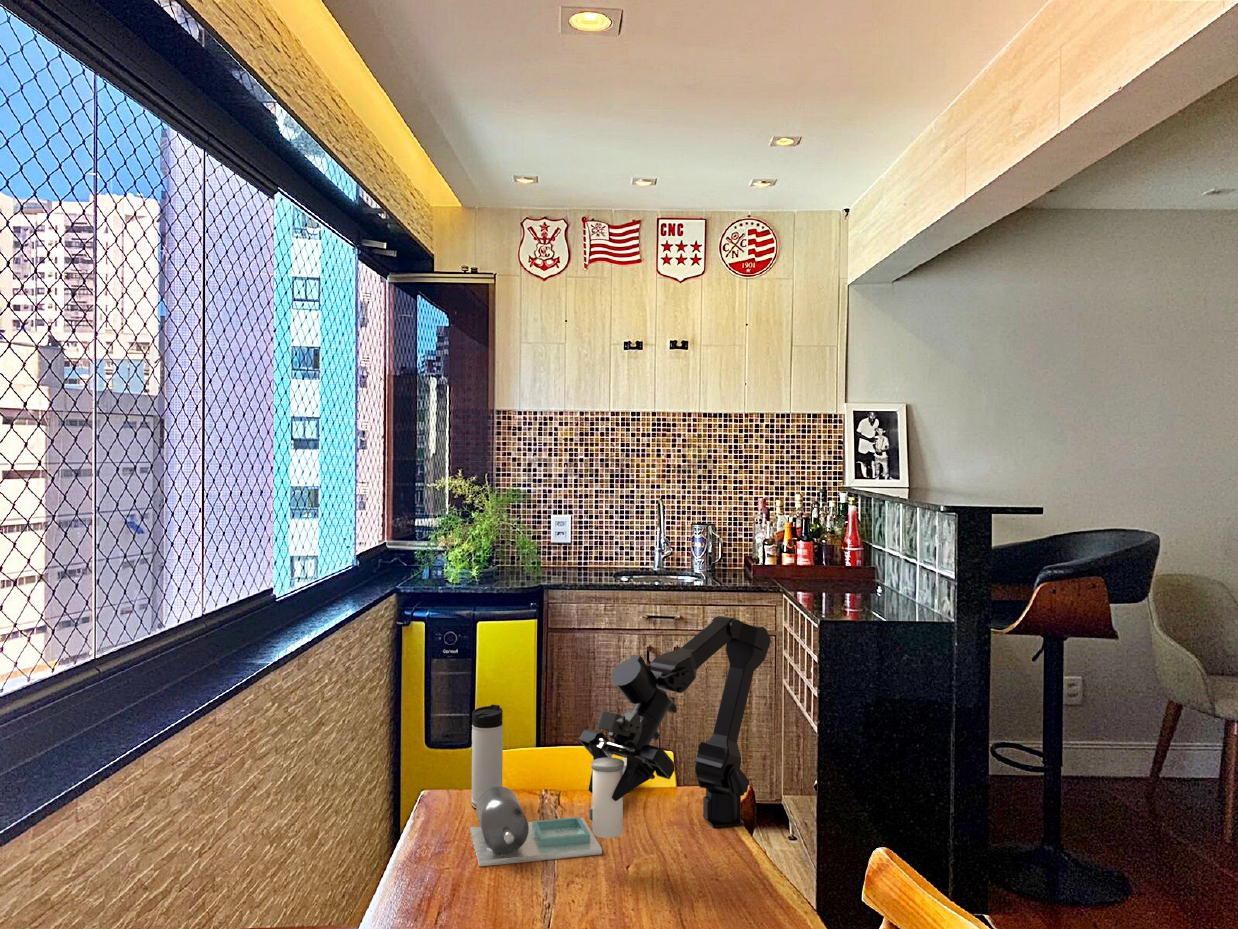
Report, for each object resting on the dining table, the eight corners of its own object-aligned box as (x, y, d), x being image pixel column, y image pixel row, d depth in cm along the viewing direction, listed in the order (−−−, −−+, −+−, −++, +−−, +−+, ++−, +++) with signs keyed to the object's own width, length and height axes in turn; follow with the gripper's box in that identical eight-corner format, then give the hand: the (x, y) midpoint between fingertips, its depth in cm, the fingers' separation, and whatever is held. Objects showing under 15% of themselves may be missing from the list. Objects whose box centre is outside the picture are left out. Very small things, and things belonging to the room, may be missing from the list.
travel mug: (508, 802, 197) (509, 706, 197) (491, 813, 191) (492, 713, 191) (483, 798, 200) (483, 703, 200) (465, 808, 194) (466, 710, 194)
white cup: (620, 825, 167) (620, 756, 167) (626, 837, 161) (627, 766, 161) (588, 827, 165) (588, 758, 166) (594, 839, 160) (594, 768, 160)
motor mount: (582, 822, 186) (583, 776, 186) (604, 858, 169) (604, 808, 169) (469, 832, 181) (470, 785, 181) (480, 871, 163) (480, 819, 163)
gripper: (585, 684, 173) (540, 758, 165) (664, 701, 160) (618, 783, 152) (615, 719, 178) (573, 792, 170) (693, 738, 166) (651, 819, 158)
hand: (601, 795), depth 162 cm, fingers closed on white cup, 5 cm apart
